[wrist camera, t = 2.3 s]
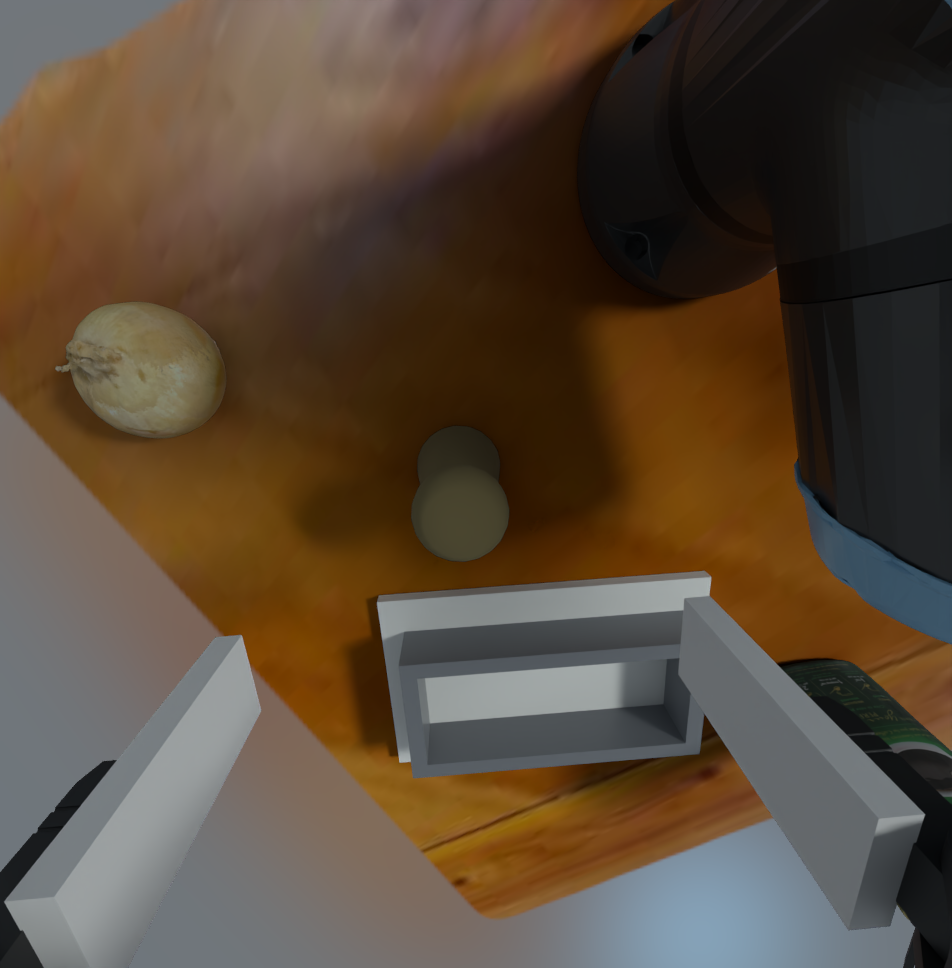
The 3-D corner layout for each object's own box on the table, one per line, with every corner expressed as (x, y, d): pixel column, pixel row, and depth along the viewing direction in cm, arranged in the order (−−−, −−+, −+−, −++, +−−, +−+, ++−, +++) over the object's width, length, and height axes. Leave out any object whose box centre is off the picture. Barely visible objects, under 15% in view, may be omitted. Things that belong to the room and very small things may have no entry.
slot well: (400, 752, 41) (393, 807, 36) (378, 595, 36) (367, 634, 32) (688, 728, 42) (718, 779, 37) (704, 570, 37) (741, 605, 32)
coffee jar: (745, 734, 42) (954, 1019, 25) (750, 662, 40) (987, 922, 22) (849, 720, 42) (1132, 995, 25) (861, 648, 40) (1184, 895, 22)
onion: (233, 306, 30) (167, 297, 23) (249, 428, 32) (194, 453, 25) (104, 303, 29) (-2, 293, 22) (130, 427, 32) (42, 452, 25)
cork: (502, 502, 34) (524, 574, 24) (421, 509, 34) (407, 584, 24) (497, 421, 33) (518, 461, 22) (412, 429, 32) (392, 473, 22)
